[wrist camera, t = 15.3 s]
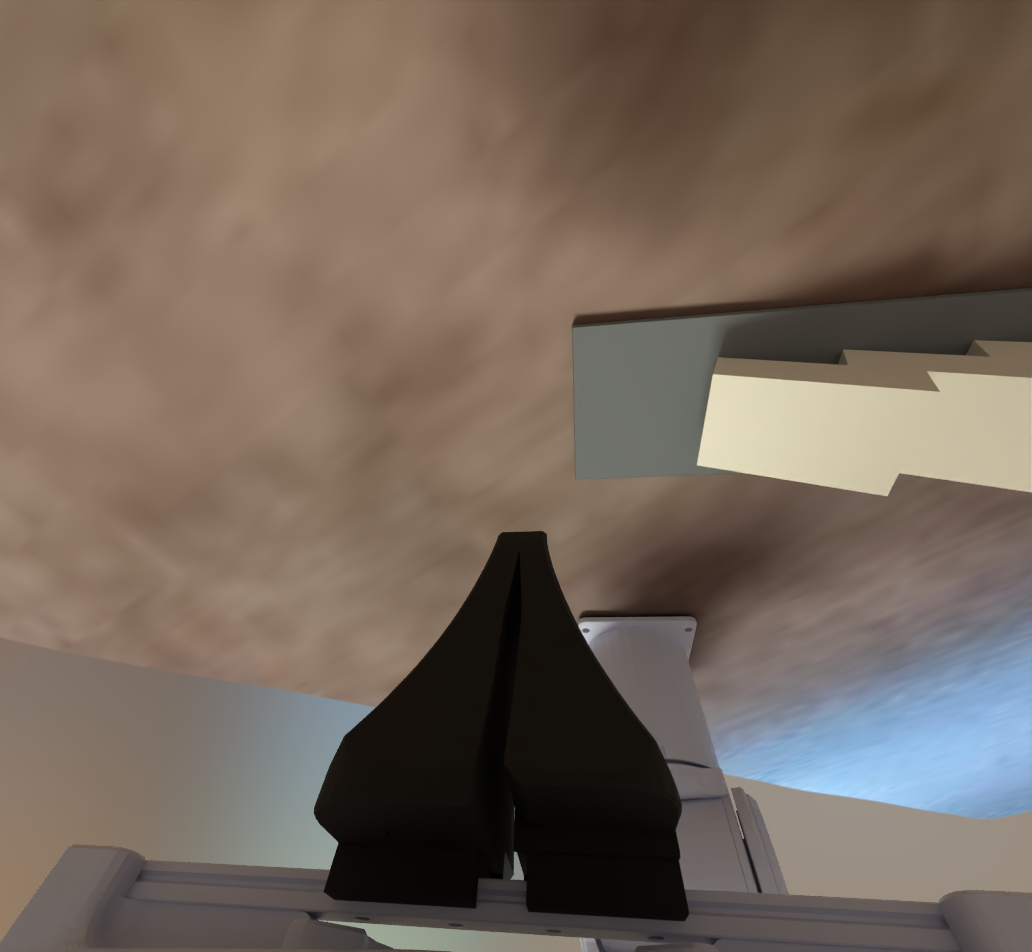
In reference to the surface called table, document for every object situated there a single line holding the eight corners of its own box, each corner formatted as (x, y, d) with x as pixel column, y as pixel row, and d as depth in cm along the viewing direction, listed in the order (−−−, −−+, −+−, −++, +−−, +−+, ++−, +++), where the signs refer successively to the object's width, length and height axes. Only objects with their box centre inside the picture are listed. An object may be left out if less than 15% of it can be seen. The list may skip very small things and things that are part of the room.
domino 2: (811, 439, 20) (1011, 464, 17) (813, 460, 19) (1032, 492, 16) (843, 349, 18) (1082, 361, 15) (848, 366, 17) (1113, 383, 14)
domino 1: (702, 444, 21) (878, 469, 18) (696, 465, 19) (887, 496, 17) (718, 357, 18) (925, 370, 16) (712, 374, 17) (940, 391, 14)
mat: (1216, 446, 20) (1229, 451, 20) (575, 475, 23) (575, 479, 23) (1402, 257, 15) (1423, 259, 15) (572, 324, 18) (572, 327, 18)
